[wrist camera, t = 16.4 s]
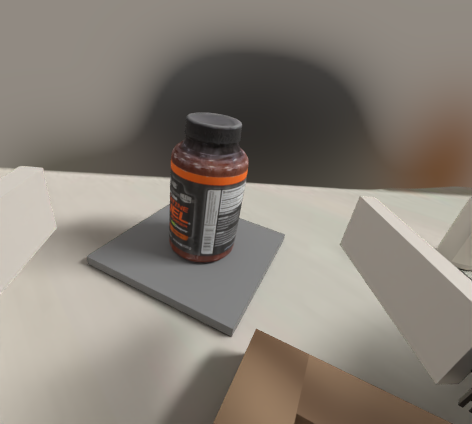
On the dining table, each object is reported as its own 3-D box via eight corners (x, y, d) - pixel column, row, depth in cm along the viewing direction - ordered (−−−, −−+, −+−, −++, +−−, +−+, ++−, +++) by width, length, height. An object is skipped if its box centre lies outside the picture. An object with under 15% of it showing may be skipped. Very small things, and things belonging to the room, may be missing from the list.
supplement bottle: (156, 236, 25) (156, 107, 19) (210, 220, 28) (223, 108, 23) (190, 276, 21) (201, 131, 15) (246, 252, 25) (272, 128, 19)
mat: (180, 202, 32) (180, 197, 32) (283, 240, 29) (284, 234, 28) (87, 263, 22) (86, 256, 21) (231, 336, 18) (233, 329, 18)
